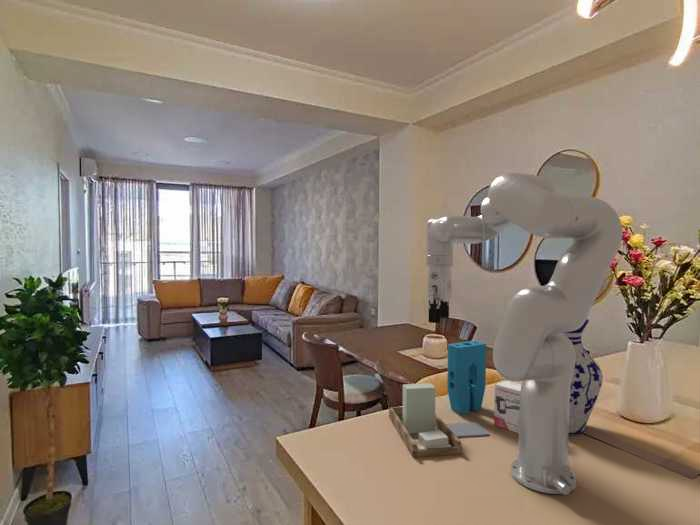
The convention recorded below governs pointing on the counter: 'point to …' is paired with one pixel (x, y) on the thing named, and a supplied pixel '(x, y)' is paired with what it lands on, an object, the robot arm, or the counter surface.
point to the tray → (411, 445)
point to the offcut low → (419, 446)
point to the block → (466, 375)
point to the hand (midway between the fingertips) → (439, 320)
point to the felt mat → (467, 429)
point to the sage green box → (418, 407)
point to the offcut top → (432, 439)
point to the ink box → (507, 405)
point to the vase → (582, 384)
